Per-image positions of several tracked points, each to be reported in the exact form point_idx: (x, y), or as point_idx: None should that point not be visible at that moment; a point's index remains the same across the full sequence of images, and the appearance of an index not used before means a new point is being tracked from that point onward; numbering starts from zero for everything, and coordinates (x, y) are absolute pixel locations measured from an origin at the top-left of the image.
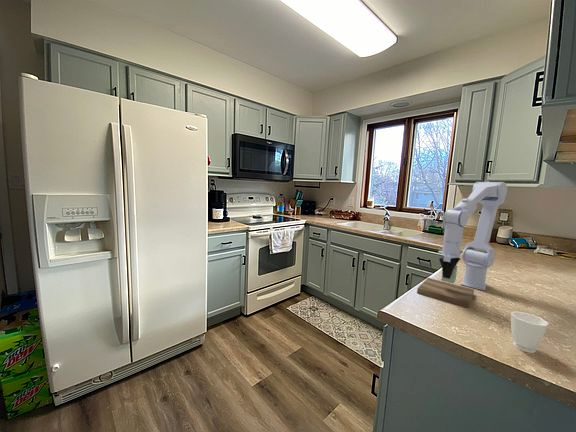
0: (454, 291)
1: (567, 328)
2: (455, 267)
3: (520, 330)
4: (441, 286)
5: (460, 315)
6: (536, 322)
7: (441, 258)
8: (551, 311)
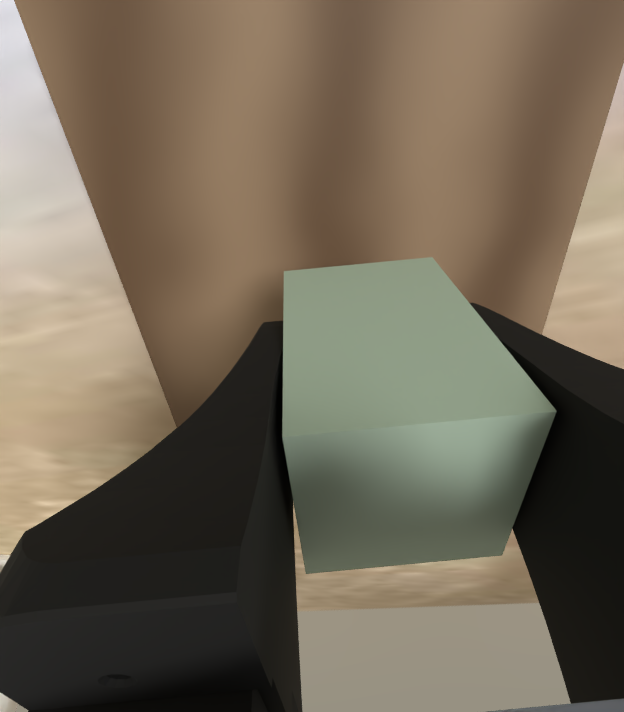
0: None
1: (350, 605)
2: (345, 563)
3: None
4: (380, 218)
5: (25, 411)
6: None
7: (128, 642)
8: (499, 579)
